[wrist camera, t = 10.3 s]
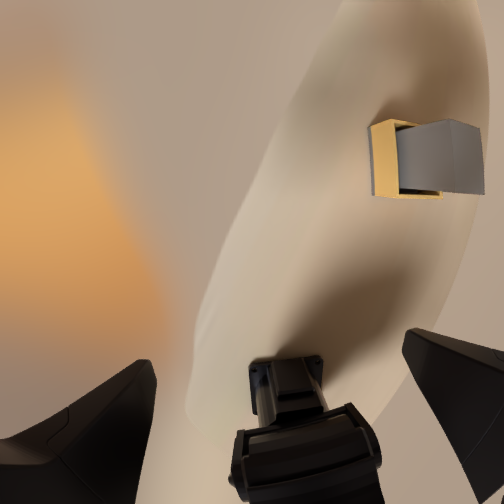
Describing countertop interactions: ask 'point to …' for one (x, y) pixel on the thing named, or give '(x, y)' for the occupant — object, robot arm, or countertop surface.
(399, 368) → the countertop surface
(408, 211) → the countertop surface
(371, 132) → the socket block
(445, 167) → the plug
